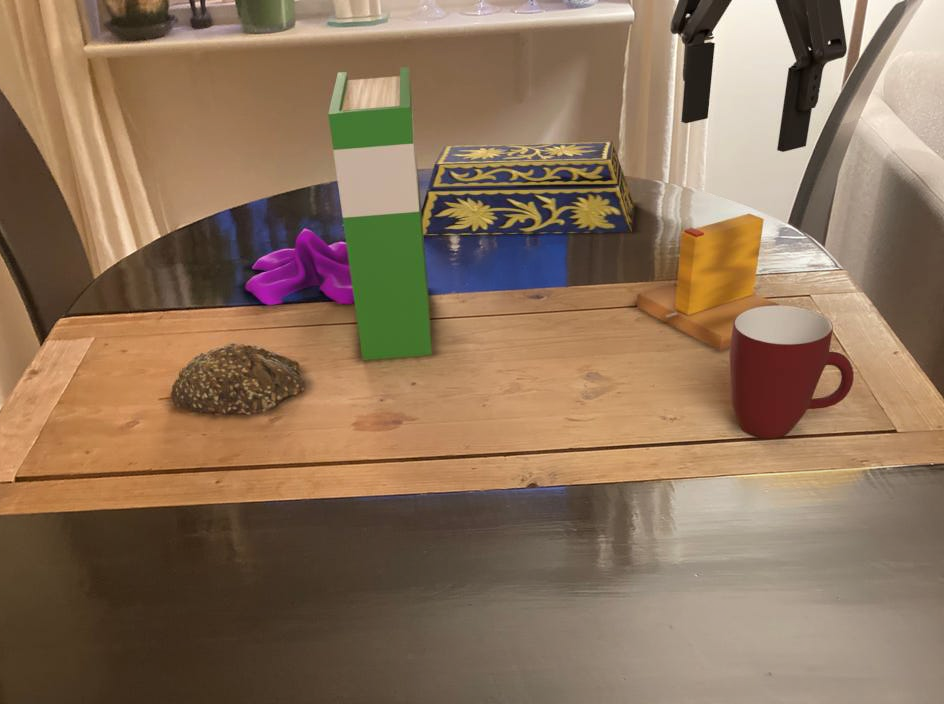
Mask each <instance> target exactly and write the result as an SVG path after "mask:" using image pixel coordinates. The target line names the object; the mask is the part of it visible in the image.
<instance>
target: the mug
mask: <svg viewBox="0 0 944 704" xmlns="http://www.w3.org/2000/svg"><path fill="white" fill-rule="evenodd" d="M833 327H834V326H833V323H832V321H831V320H830V319H829V318H828V317H827V316H825V315H823V314H822V313H820V312H818V311H816V310H812V309H809V308H806V307H801V306H795V305H783V304H779V305H771V306H761V307H756V308H752V309H749V310H746V311H744V312H742V313H741V314H739V315H738V316H737V317H736V318H735V320H734V323H733V329H732V335H731V342H730V347H729V374H730V375H729V376H730V393H731V394H730V397H731V404H732V408H733V412H734V414H735V416H736V419H737V421H738V424H739V426H740V428H741V430H742V431H743V432H744V433H745V434H747V435H749V436H751V437H754V438H758V439H765V440H771V439H772V440H773V439H779V438H782V437H783V438H784V437H785V436H787V435H789V434H790V432H791V431H792V430H793V429H794V428H795V427H796V425H797V424H798V423H799V421H800V420H801V419H802V418H803V417H804V415H805V414H806V413H807V411H808V410H817V409H818V410H819V409H826V408H830V407H832V406H834V405H837V404H839V403H840V402H842V401H843V400H844V399H845V398H846V397H847V396H848V394H849V393H850V391H851V389H852V386H853V383H854V375H855V373H854V368H853V366H852V364H851V361H850V360H849V359H848V358H847V356H846V355H845V354H843V353H840V352H837V351H830V348H831V342H832V336H833V330H834V328H833ZM827 366H833V367H836V368H837V369H838V370H839V372H840V376H841V379H840V383H839V385H838V387H837V388H836V389H835V391H833V392H832V393H831V394H829V395H826V396H823V397H818V398H813V397H814V394H815V391H816V389H817V387H818V384H819V381H820V379H821V376H822V374H823V372H824V371H825V368H826V367H827Z"/></svg>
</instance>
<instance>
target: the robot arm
mask: <svg viewBox="0 0 944 704" xmlns="http://www.w3.org/2000/svg"><path fill="white" fill-rule="evenodd" d="M732 1H733V0H678V2H677V4H676V7H675V9H674V12H673V15H672V18H671V22H670V24H669V29H670V32H671V34H672V35H678V36H679V37H680V39H681V43H682V44H683V45H684V50H683V51H684V52H683V65H682V81H683V82H684V84H683V86H684V87H683V97H682V108H681V109H682V110H681V123H683V124H689V123H694V122H698V121H703V120H707V119H708V118H709V109H710V99H711V87H712V77H713V67H714V57H715V47H716V42H712V41H710V40H714V38H715V36H714V34H713V32H714V31H715V29H716V27H717V25H718V24H719V22H720V21H721V19H722V17H723V15H724V14H725V13H726V11H727V9H728V8H729V6H730V4H731V3H732ZM774 1H775V4H776V7H777V9H778V11H779V15H780V18H781V20H782V24H783V28H784V29H785V32H786V36H787V38H788V42H789V44H790V46H791V49H792V53H793V55H794V59H795V62H794V63H793V65H791V66H790V67H788V70H787V77H786V83H785V84H786V85H785V91H784V99H783V104H782V105H783V106H782V113H781V119H780V126H779V135H778V141H777V147H776V150H777V151H778V152H782V153H784V152H789V151H792V150H796V149H800V148H804V147H805V148H806V146H807V141H808V136H809V129H810V123H811V116H812V112H813V111H812V109H815V108H816V107H817V104H818V101H819V96H820V91H821V89H820V88H821V83H822V78H823V71H824V67H825V66H826V64H827V63H830V62H832V61H836V60H839V59H843V58H844V57H845V56H846V55H847V51H848V46H847V39H846V32H845V26H844V18H843V10H842V4H841V0H774ZM687 15H688V16H687ZM706 41H707V42H706Z"/></svg>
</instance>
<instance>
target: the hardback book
mask: <svg viewBox="0 0 944 704" xmlns="http://www.w3.org/2000/svg"><path fill="white" fill-rule="evenodd" d="M410 75H411V74H410V66H403V67H399V75H398V76H397V75H395V76H385V77H371V78H359V79H349V78H348V72H347V71H339V72H337V75H336V78H335V79H336V80H335V84H334V89H333V92H332V96H331V100H330V104H329V110H328V113H327V115H328V122H329V130H330V136H331V144H332V151H333V158H334V165H335V173H336V180H337V186H338V193H339V200H340V201H339V202H340V209H341V215H342V222H343V229H344V236H345V243H346V245H347V252H348V259H349V266H350V273H351V281H352V288H353V295H354V302H353V303H354V309H355V316H356V322H357V323H356V324H357V329H358V331H357V332H358V335H359V336H358V338H359V344H360V351H361V358H362V361H369V360H381V359H393V358H394V359H395V358H405V357H418V356H419V357H420V356H431V355H433V349H432V333H431V332H432V330H431V314H430V295H429V283H428V270H427V260H426V258H427V257H426V248H425V237H424V236H425V235H423V224H422V212H421V211H422V204H421V202H422V201H421V191H420V190H421V189H420V180H419V168H418V155H417V145H416V144H417V143H416V133H415V122H414V111H413V109H414V108H413V99H412V98H413V97H412V90H411V89H412V87H411V77H410Z"/></svg>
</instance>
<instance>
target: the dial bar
mask: <svg viewBox="0 0 944 704" xmlns="http://www.w3.org/2000/svg"><path fill="white" fill-rule="evenodd" d="M764 220H765V219H764V218H763V217H760V216H757V215H754V214H752V213H746V214H742V215H740V216H736V217H735V216H734V217H731V218H728V219H724V220H721V221H717V222H714V223H709V224H707V225H703V226H700V227H696V228H693V227H689V228H685V229H683V231H682V232H681V235H680V236H681V237H680V246H679V247H680V248H679V257H678V258H679V259H678V260H679V261H678V271H677V272H678V273H677V281H676V282H677V291H676V303H675V309H677V310H679V311H681V312H683V313H685V314H687V315H690V314H693V313H696V312H700V311H703V310H706V309H709V308H712V307H716V306H719V305H722V304H725V303H728V302H731V301H735V300H738V299H741V298H744V297H747V296H750V295H753V293H754V291H755V290H754V287H755V284H756V277H757V269H758V263H759V255H760V248H761V242H762V235H763V228H764Z"/></svg>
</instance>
